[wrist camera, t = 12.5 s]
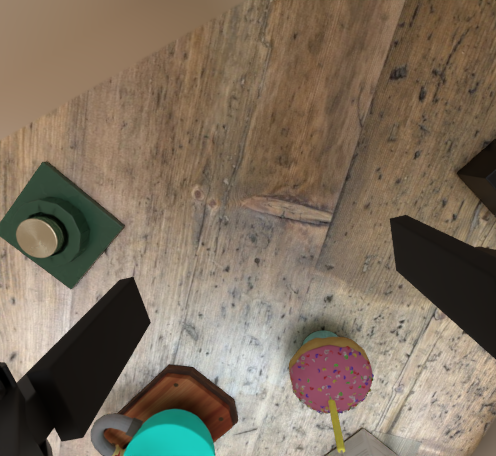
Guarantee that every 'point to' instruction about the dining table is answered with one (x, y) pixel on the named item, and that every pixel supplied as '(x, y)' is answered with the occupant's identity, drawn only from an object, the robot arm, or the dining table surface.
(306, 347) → the cupcake
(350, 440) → the rectangular carton
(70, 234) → the block
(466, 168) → the hob panel
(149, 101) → the dining table surface
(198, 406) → the contraption on wooden base
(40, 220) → the button
